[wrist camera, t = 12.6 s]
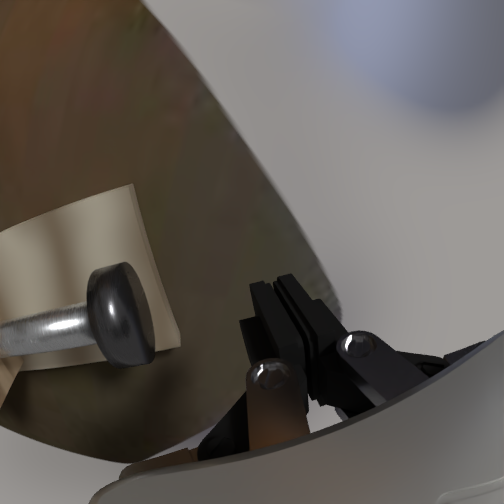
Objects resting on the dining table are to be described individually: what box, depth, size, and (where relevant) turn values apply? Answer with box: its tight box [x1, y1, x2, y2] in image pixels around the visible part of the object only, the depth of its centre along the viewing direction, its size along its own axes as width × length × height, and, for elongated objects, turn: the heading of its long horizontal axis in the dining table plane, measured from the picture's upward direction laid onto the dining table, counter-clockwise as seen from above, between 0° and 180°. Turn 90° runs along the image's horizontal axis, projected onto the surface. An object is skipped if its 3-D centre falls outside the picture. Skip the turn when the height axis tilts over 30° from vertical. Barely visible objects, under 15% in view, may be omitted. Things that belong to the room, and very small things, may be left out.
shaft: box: [0, 262, 155, 369], centre depth 12 cm, size 16×5×5 cm, turn 102°
